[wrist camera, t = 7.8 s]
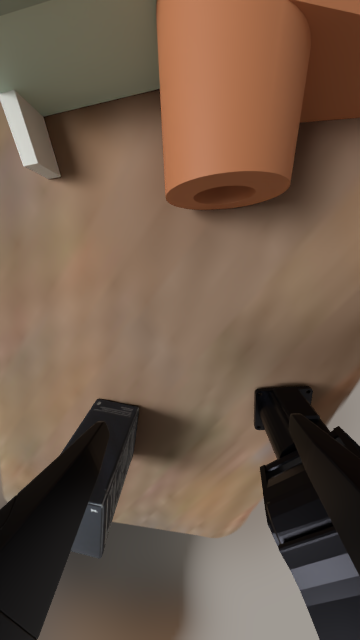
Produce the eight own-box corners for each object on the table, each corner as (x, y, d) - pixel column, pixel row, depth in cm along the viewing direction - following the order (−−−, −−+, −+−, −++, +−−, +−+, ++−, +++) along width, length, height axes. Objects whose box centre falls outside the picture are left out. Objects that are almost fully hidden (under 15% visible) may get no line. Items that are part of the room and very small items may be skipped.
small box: (94, 396, 24) (28, 491, 15) (140, 405, 24) (106, 506, 15) (93, 447, 28) (41, 550, 18) (134, 454, 28) (103, 561, 18)
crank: (172, 212, 16) (155, 176, 9) (166, 91, 13) (136, -108, 6) (410, 199, 15) (631, 144, 7) (459, 61, 12) (893, -250, 5)
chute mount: (472, 95, 12) (751, -63, 6) (48, 179, 16) (-45, 131, 10) (523, -64, 10) (1044, -563, 4) (15, 73, 13) (-135, -78, 7)
